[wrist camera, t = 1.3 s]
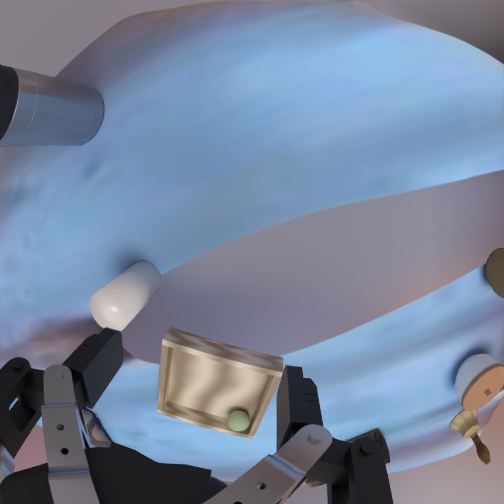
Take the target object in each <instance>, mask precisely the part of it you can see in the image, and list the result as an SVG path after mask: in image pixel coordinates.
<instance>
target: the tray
mask: <svg viewBox="0 0 504 504" xmlns="http://www.w3.org/2000/svg"><path fill="white" fill-rule="evenodd" d="M282 373H283V358H280V357H275V356H271V355H267V354H262V353H259V352H254V351H250V350H247V349H242V348H239V347H235V346H231V345H227V344H224V343H221V342H217V341H213V340H210V339H207V338H203V337H200V336H196V335H193V334H190V333H187V332H183V331H180V330H177V329H174V328H170V329H169V331H168V332H167V333H166V335H165V336H164V338H163V342H162V352H161V363H160V375H159V390H158V408H157V412H158V413H161V414H163V415H166V416H169V417H172V418H175V419H178V420H181V421H185V422H188V423H191V424H194V425H198V426H201V427H205V428H208V429H212V430H216V431H220V432H224V433H228V434H232V435H237V436H241V437H246V438H251V439H253V437H254V435H255V433H256V431H257V429H258V426H259V424H260V422H261V420H262V418H263V416H264V414H265V412H266V409H267V407H268V405H269V403H270V401H271V398H272V396H273V394H274V392H275V389H276V387H277V385H278V383H279V380H280V378H281V376H282ZM237 410H239V411H243V412H245V413H246V414H247V415H248V416H249V418H250V424H249V426H248V427H247V429H245V430H243V431H234V430H232V429H231V428H230V427H229V426H228V424H227V418H228V416H229V414H230V413H232V412H233V411H237Z"/></svg>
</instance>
